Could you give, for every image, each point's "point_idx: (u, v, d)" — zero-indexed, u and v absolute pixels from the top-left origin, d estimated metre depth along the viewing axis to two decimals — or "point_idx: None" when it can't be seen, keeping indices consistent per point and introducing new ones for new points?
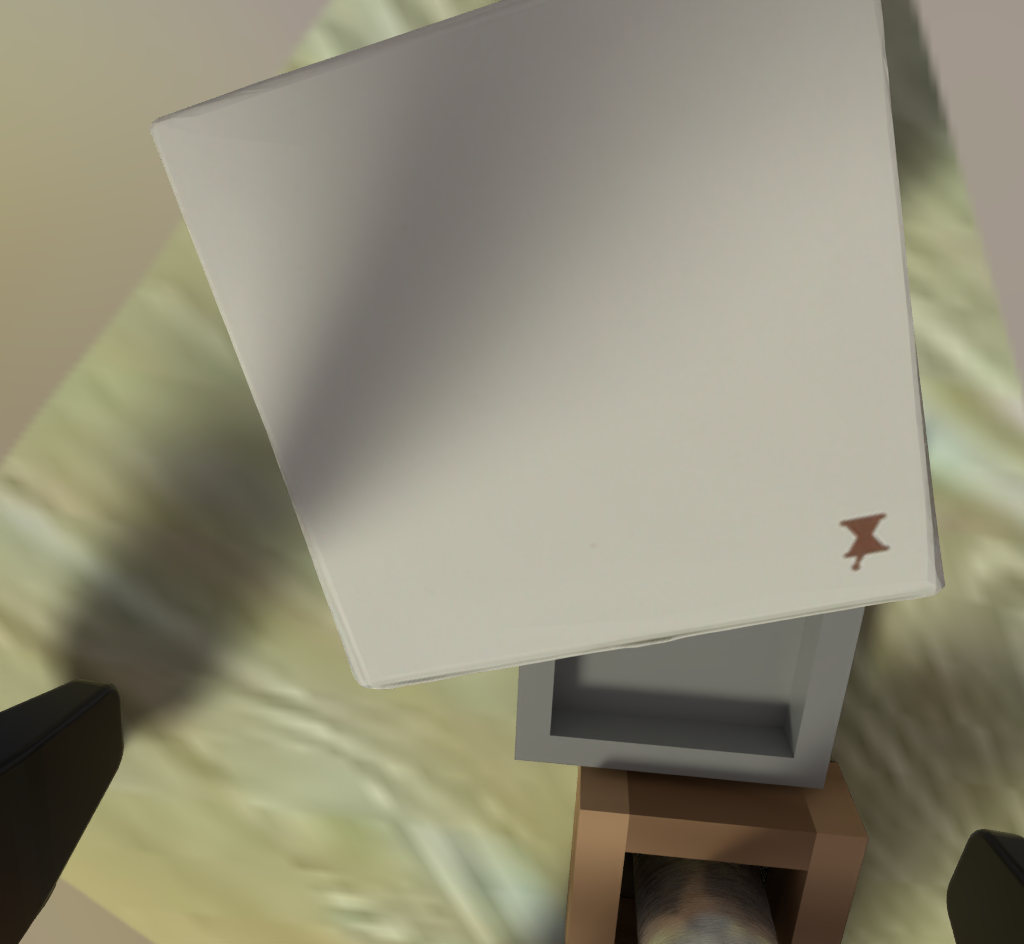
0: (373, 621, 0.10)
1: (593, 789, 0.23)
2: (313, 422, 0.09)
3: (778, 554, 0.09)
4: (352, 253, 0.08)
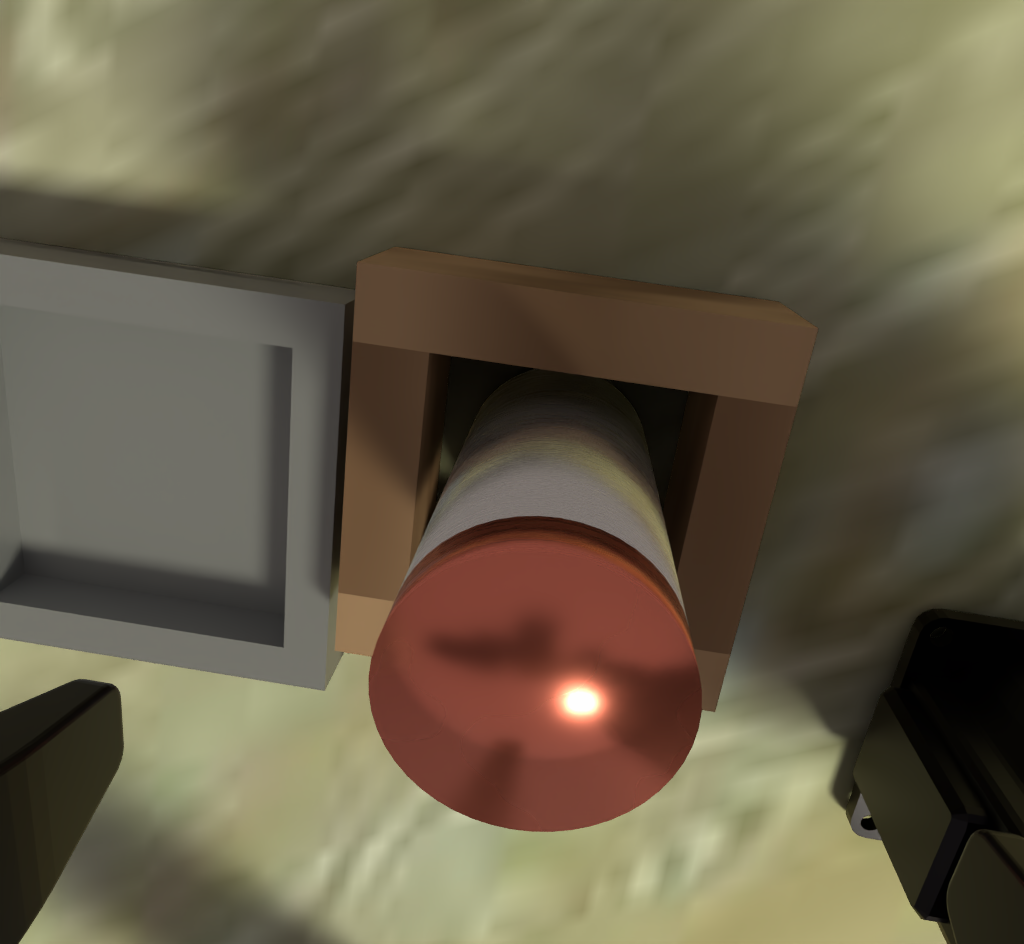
0: None
1: None
2: None
3: None
4: None
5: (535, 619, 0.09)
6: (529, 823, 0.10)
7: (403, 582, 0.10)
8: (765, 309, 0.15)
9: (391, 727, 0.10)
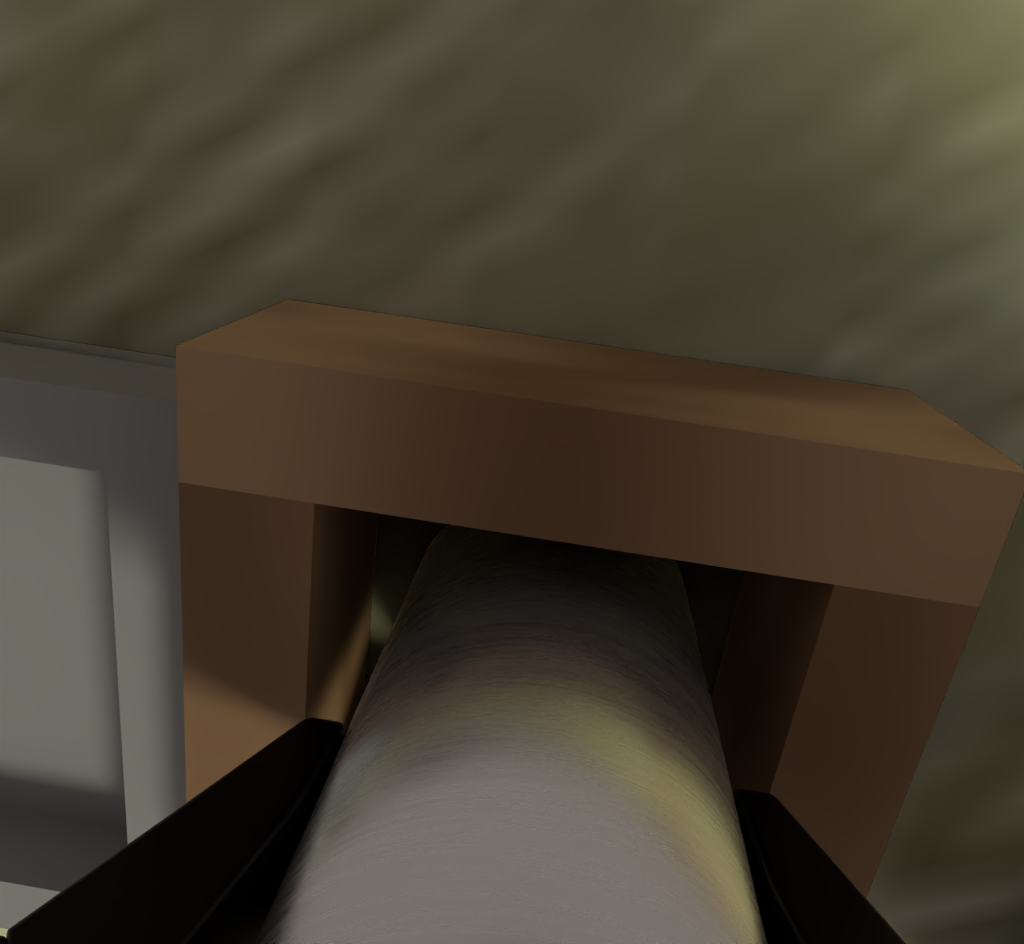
0: None
1: None
2: None
3: None
4: None
5: None
6: None
7: None
8: (904, 417, 0.09)
9: None
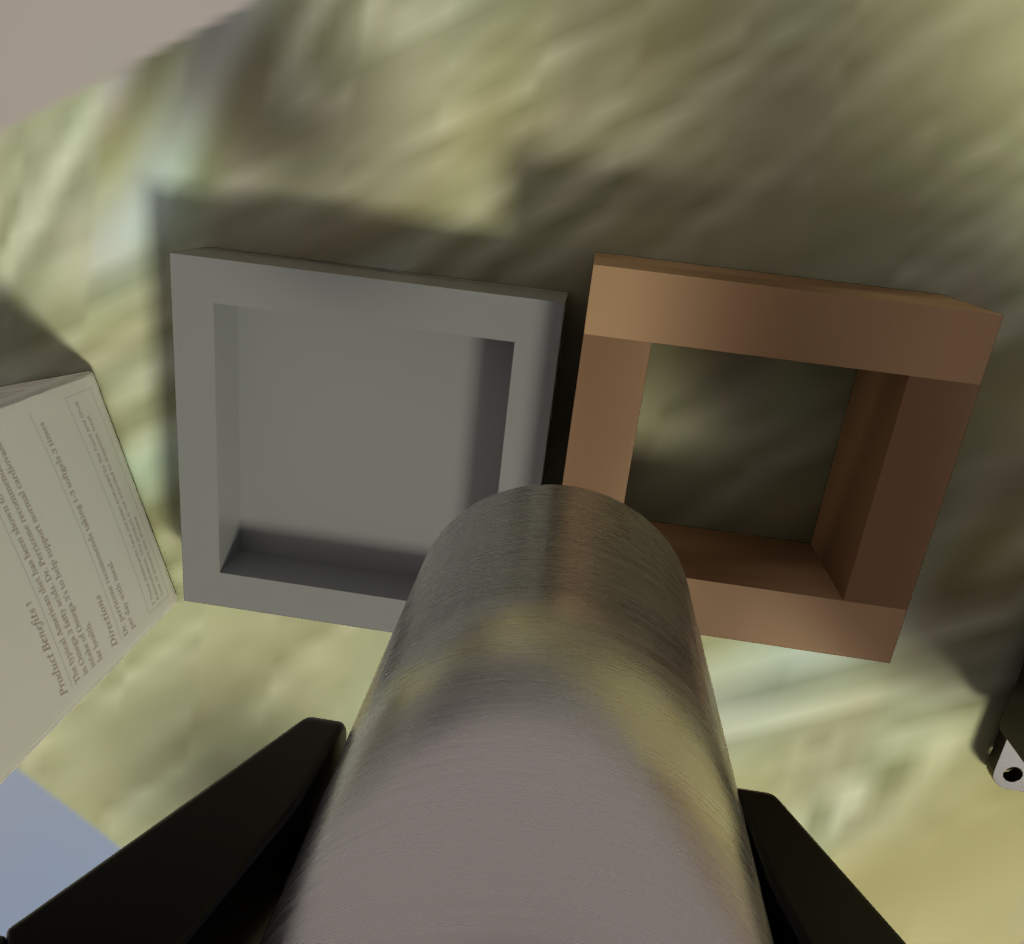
0: None
1: None
2: None
3: None
4: None
5: None
6: None
7: None
8: (941, 300, 0.17)
9: None
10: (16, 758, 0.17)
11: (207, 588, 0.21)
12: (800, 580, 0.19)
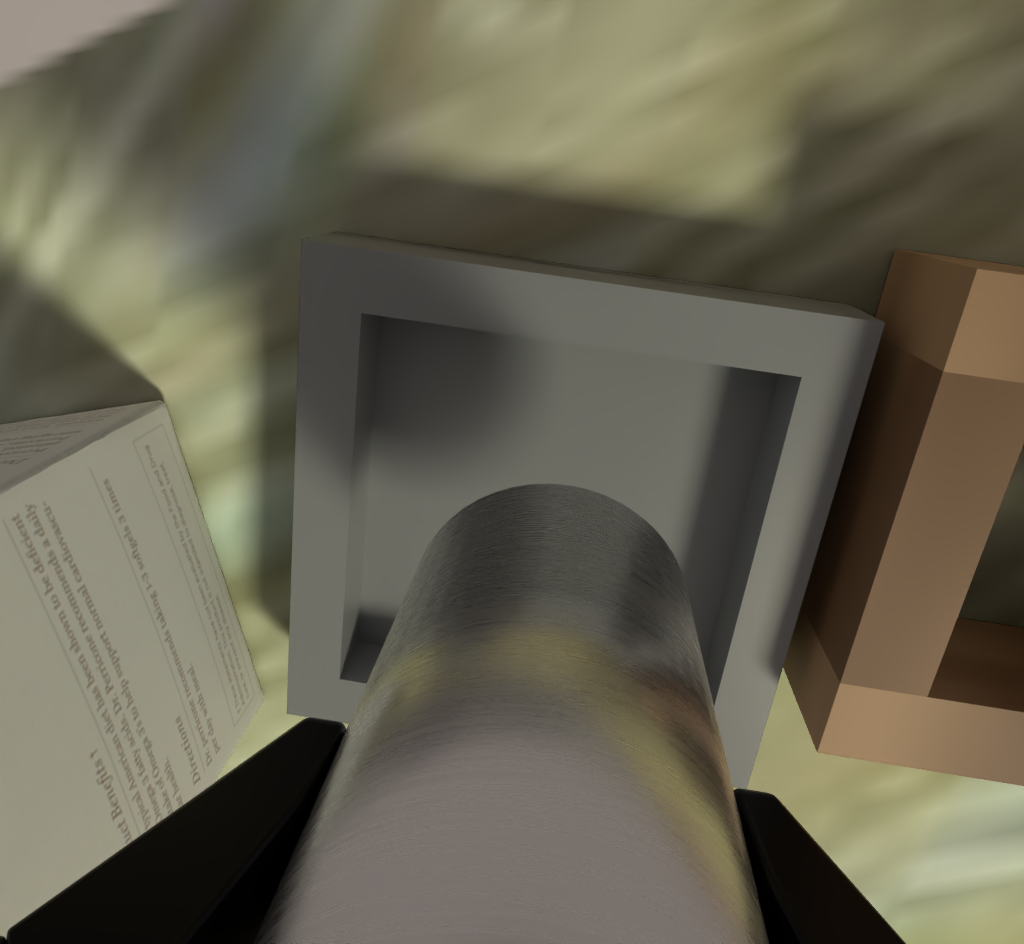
0: None
1: (810, 702, 0.14)
2: None
3: None
4: None
5: None
6: None
7: None
8: None
9: None
10: None
11: (319, 699, 0.15)
12: None
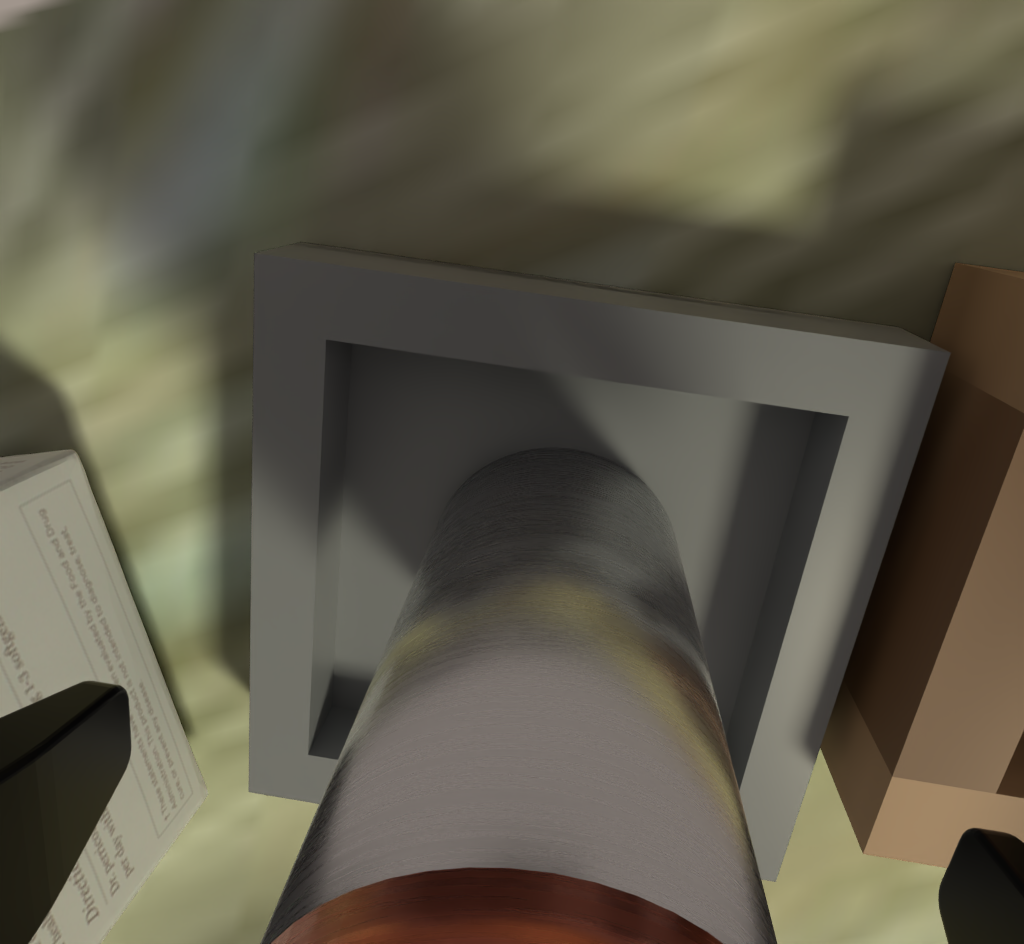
0: None
1: (852, 790, 0.12)
2: None
3: None
4: None
5: None
6: None
7: None
8: None
9: None
10: None
11: (286, 776, 0.13)
12: None
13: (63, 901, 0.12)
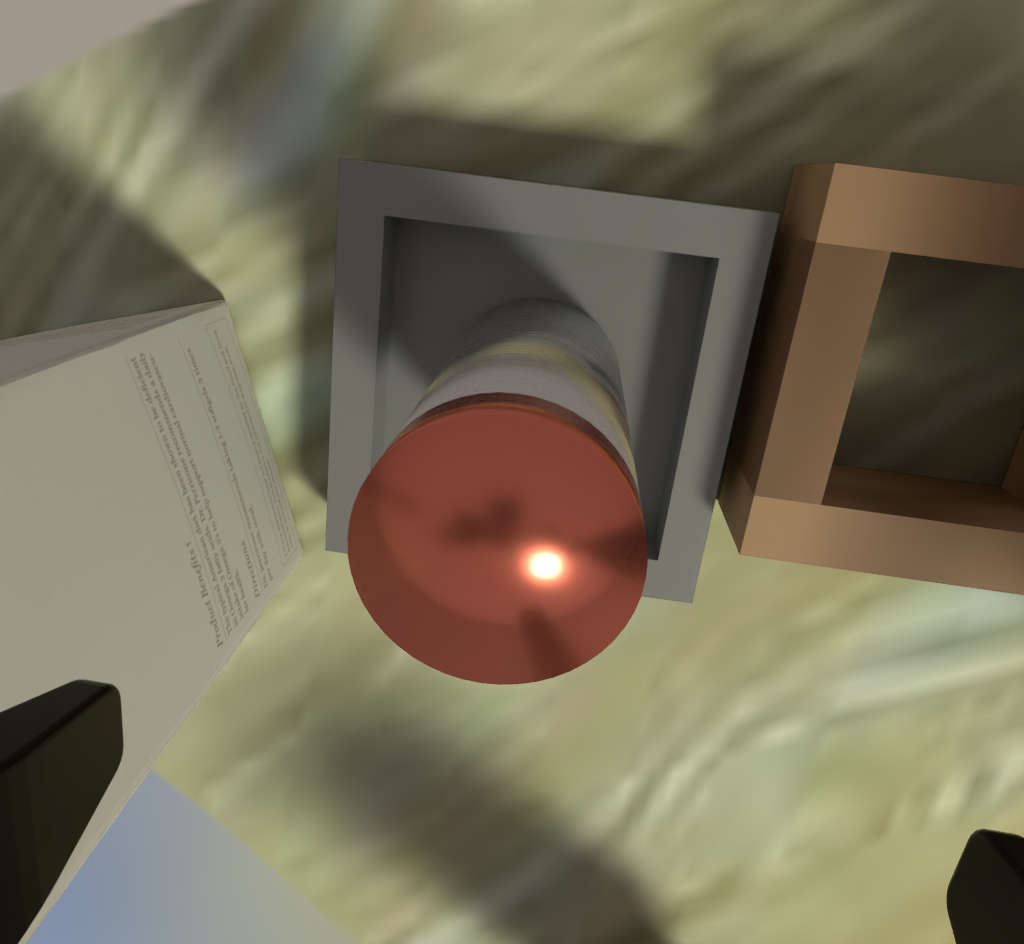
0: None
1: (736, 523, 0.18)
2: None
3: None
4: None
5: (494, 478, 0.10)
6: (496, 677, 0.11)
7: None
8: None
9: (369, 587, 0.11)
10: (185, 712, 0.15)
11: None
12: (1015, 520, 0.17)
13: (244, 575, 0.18)
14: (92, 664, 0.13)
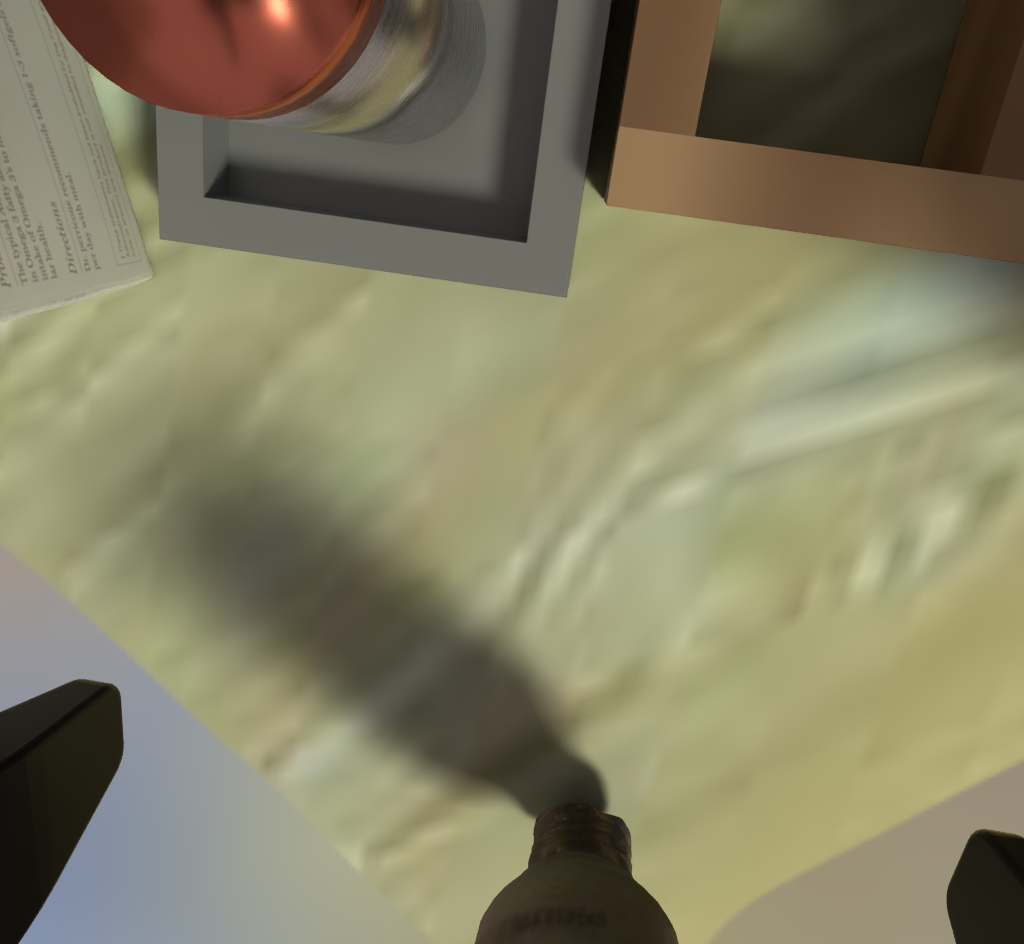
0: None
1: (609, 183, 0.16)
2: None
3: None
4: None
5: None
6: (209, 102, 0.09)
7: None
8: None
9: None
10: None
11: (188, 221, 0.17)
12: None
13: (52, 237, 0.16)
14: None
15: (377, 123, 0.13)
